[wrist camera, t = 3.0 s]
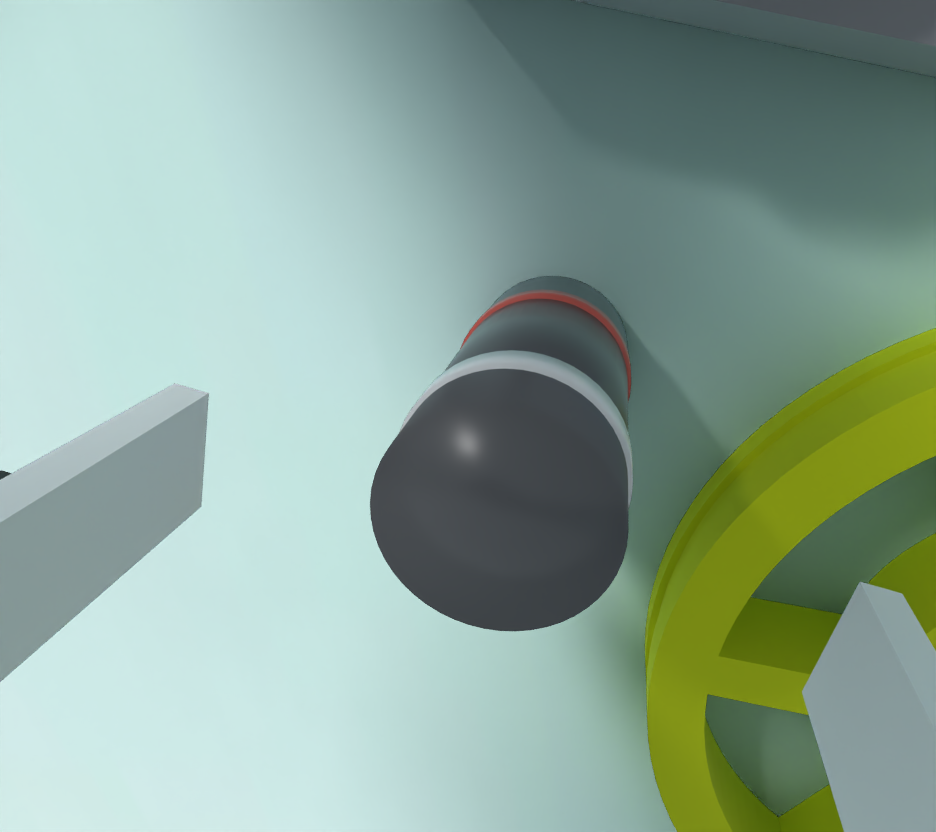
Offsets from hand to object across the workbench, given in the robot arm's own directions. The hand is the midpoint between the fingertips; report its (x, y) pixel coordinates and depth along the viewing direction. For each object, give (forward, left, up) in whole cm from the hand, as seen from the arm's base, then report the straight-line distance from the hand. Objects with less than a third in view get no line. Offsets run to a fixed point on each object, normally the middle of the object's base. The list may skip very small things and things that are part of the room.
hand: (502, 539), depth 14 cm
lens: (0, 0, -12) cm, 12 cm away
